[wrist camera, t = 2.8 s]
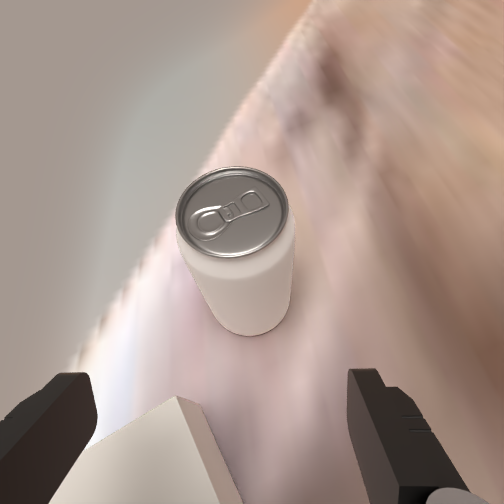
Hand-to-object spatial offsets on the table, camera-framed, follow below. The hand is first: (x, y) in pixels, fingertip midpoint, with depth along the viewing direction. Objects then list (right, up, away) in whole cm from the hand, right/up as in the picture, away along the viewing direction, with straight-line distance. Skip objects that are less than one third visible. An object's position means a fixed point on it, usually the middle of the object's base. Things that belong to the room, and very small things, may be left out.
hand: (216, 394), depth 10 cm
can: (+1, +1, +16) cm, 16 cm away
